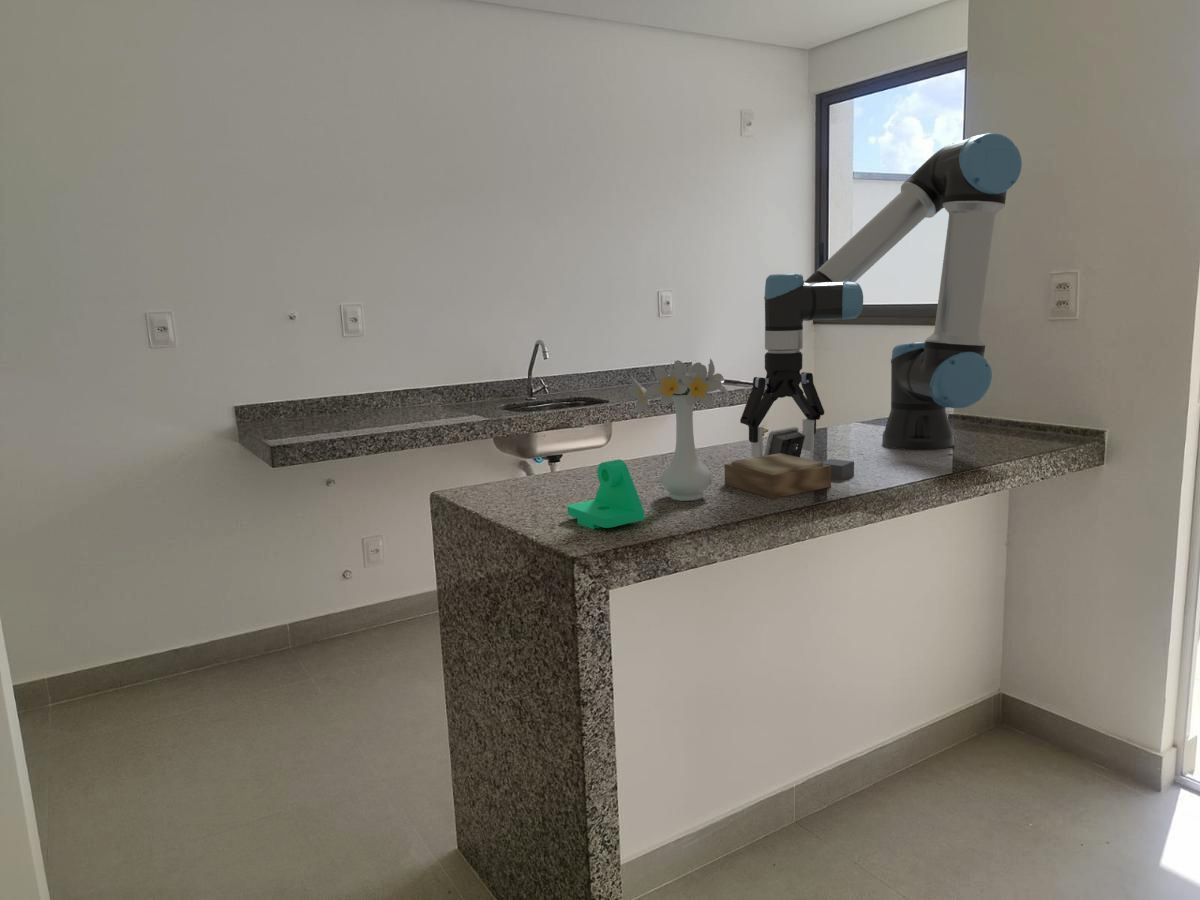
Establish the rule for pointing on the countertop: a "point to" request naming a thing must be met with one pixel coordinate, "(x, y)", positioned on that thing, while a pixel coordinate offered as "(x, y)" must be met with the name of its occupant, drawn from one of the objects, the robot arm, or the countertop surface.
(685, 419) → the flower vase
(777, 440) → the electrical switch
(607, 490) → the camera mount
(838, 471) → the rubber block
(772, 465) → the wooden box
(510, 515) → the countertop surface
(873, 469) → the countertop surface
